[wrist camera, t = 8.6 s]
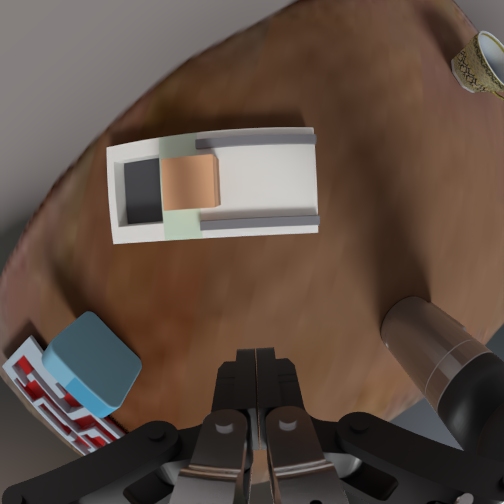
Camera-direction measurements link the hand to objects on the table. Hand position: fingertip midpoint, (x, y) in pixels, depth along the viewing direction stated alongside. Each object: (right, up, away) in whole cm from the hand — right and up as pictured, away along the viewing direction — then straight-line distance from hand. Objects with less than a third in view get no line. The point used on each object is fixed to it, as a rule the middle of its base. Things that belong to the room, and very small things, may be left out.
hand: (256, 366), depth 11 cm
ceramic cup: (+37, +33, +18) cm, 53 cm away
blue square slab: (-22, -9, +27) cm, 36 cm away
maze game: (-38, -29, +32) cm, 58 cm away
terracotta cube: (-6, +12, +19) cm, 23 cm away
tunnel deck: (-5, +13, +22) cm, 26 cm away
